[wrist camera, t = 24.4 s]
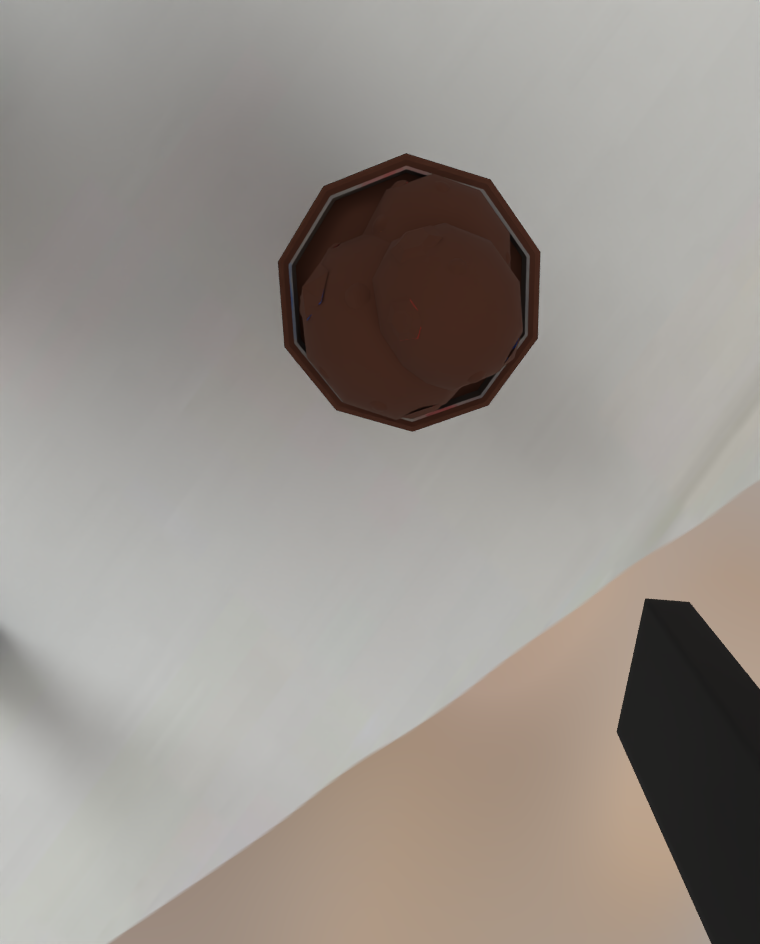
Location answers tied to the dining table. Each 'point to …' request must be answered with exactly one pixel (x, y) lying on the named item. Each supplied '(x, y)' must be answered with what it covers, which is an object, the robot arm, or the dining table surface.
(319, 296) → the ice cream bowl
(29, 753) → the dining table surface
